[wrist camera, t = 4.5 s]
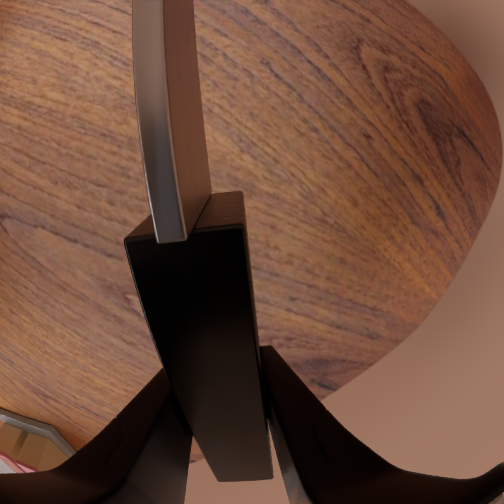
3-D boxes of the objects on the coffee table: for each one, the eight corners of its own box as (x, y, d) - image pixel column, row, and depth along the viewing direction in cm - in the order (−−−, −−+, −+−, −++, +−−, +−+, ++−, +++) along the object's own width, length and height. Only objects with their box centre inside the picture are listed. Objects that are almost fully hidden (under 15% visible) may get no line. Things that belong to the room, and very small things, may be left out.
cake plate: (-3, 406, 22) (-21, 438, 16) (52, 425, 22) (34, 467, 16) (40, 454, 26) (29, 483, 20) (97, 472, 26) (88, 507, 20)
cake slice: (29, 431, 22) (14, 462, 16) (49, 438, 22) (35, 471, 16) (60, 462, 25) (50, 490, 19) (80, 468, 25) (71, 499, 19)
